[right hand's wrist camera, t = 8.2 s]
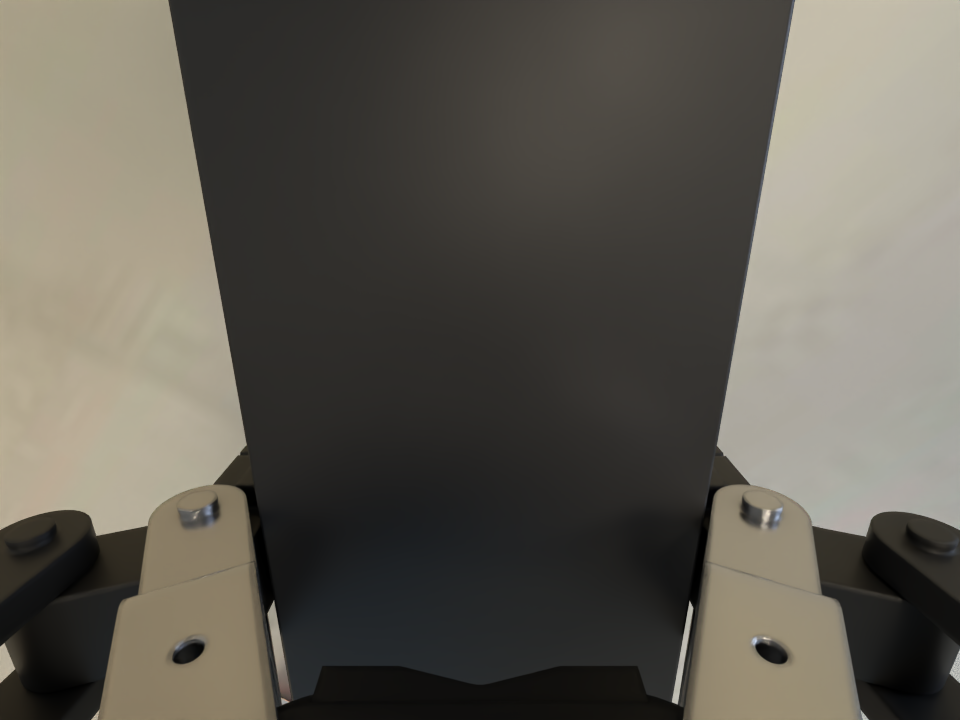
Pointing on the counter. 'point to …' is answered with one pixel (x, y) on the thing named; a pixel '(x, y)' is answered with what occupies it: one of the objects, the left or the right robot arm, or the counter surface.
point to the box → (481, 311)
